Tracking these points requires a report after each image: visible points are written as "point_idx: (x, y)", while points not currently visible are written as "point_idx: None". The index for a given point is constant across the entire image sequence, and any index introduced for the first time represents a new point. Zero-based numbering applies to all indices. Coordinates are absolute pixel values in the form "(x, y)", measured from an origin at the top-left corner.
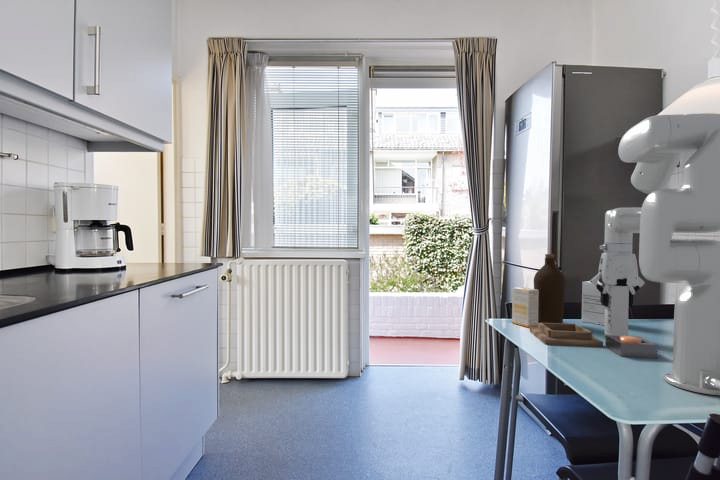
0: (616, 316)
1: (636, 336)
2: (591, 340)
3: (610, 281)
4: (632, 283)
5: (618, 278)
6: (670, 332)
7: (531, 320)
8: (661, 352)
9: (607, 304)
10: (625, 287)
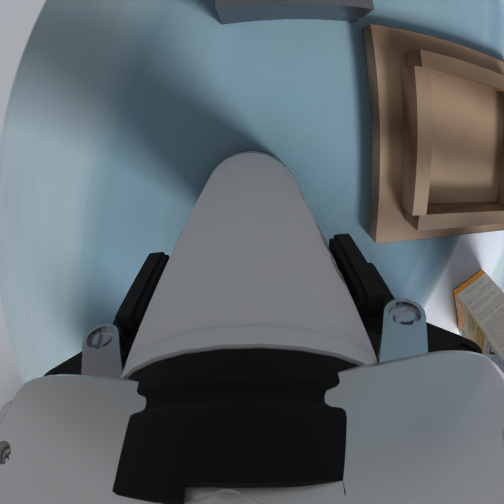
0: (273, 180)
1: (229, 5)
2: (408, 39)
3: (450, 396)
4: (59, 395)
5: (307, 499)
6: (65, 320)
7: (485, 287)
8: (154, 4)
9: (342, 238)
10: (172, 336)
